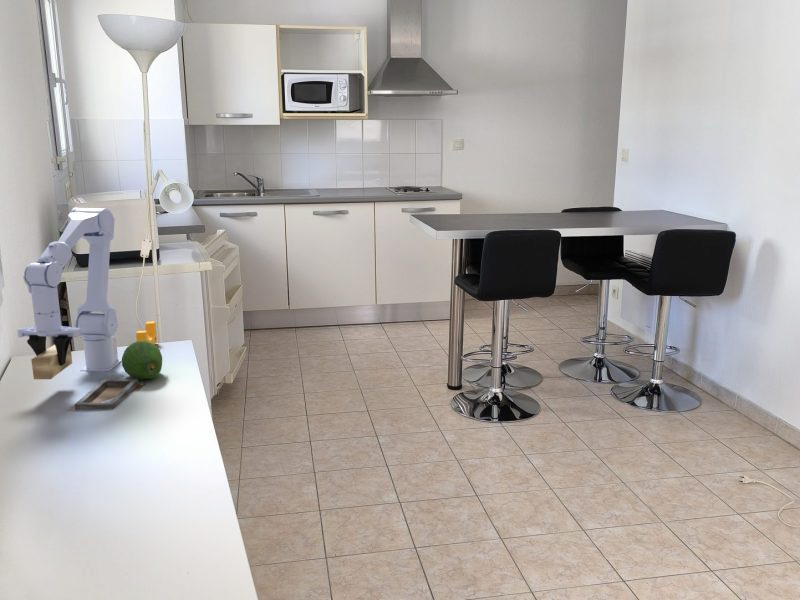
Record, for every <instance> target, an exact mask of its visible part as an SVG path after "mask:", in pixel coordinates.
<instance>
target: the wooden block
mask: <svg viewBox="0 0 800 600" xmlns="http://www.w3.org/2000/svg"><path fill="white" fill-rule="evenodd" d="M72 364H73V358H72V348H71V343H70V344H69V347H68V351H67V355H66V363H65V364H64V365H62V366H59V362H58V354H57V350H56V346H55V344H54V343H53V345H51V346H50V347H48V348H46V350H45V351H44V352H42V353H41V354H39V355H38V356H36V355H35V357H33V358H31V368H32V369H31V370H32V374H33V375H32V377H33V380H52V379H53V378H54V377H56V376H57V375H59V374H60V373H61V372H63V371H64V370H65V369H66V368H68V367H69V366H71V365H72Z"/></svg>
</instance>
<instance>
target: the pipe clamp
mask: <svg viewBox="0 0 800 600" xmlns="http://www.w3.org/2000/svg"><path fill="white" fill-rule="evenodd" d="M144 325H145V329H144V330H137V331H136V332H135V335H136V336H135V337H136V340H135V342H137V341H148V342H150V343H153V344H154V345H155V346H156V344H157V342H158V335H157V322H156V321H146V322H145V323H144Z"/></svg>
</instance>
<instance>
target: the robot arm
mask: <svg viewBox="0 0 800 600" xmlns="http://www.w3.org/2000/svg"><path fill="white" fill-rule="evenodd" d="M115 219H116V218H115V216H114V215H113V213H112V212H111V210H110V208H108V207H104V208H99V207H98V208H95V207H94V208H91V207H90V208H88V207H73V208H72V209H71V210H70V212H69V214H68V215H67V221H68V222H67V223H68V224H66V225H67V226H66V227H65V229H64V231H63V232H62V234H61V236H60V237H59V239H58V241H52V242H50V243H48V246H47V247H46V248H45V250H44V251H43V252H42V253H41V255H40V256H39V257H38V259H37V260H36V261H35V262H31V263H30V264H28V265H27V266H26V267H25V269H24V273H23V275H24V276H23V281H24V283H25V285H26V286H27V289H28V293H29V294H31V300H32V309H33V316H34V317H33V318H34V324H35V325H34V326H30V327H29V326H28V327H26V326H25V327H20V328H18V329H17V337H18V338H24V337H28V339H26V343H27V344H28V346H29V347H30V348H31V349H32V351H33V353H34V354H35V357H36V356H38V355H39V354H41V353H42V352H44V351H45V350H47V337H56V338H55V339H53V345H54V344H55V346H56V350H57V354H58V362H59V366H62V365H64V364H65V363H66V355H67V351H68V347H69V344H70V345H71V343H72V340H73V338H80V339H82V341H83V349H84V359H85V360H84V361H85V366H83V367H82V368H80V372H110V371H111V370H112V369H114V368H115V367H116V366H118V365H119V364H120V363H122V358H121V359H119V355H118V354H119V352H118V343H117V339H116V336H115V333H116V332H117V330H118V325H119V324H118V318H117V309H116V308H115V307H114V306H112V305H111V304H110V303H109V302H108V289H109V288H108V287H109V274H110V273H109V272H110V271H109V270H110V257H111V255H110V254H111V253H110V252H111V241H113V240H114V236H115V222H116V221H115ZM81 239H84V240H86V241H87V243H88V244H89V248H88V249H89V253H88V266H87V268H88V270H87V284H86V285H87V286H86V299H85V300H86V301H85V302H83V303H82V304H81V305H80V306H79V307H77V310H76V316H75V319H74V323H73V325H74V326H66V325H65V326H63V325H62V320H61V319H62V317H61V311H60V310H61V309H60V303H59V302H60V301H59V294H58V293H59V292H58V286H59V284H60V283H61V281H62V274H63V273H64V272H63V271H64V268H65V266H66V264H68V262H69V261H70V259H71V257H72V255H73V252H72V249H73V248H74V246H75V245H76V244H77V243H78V242H79V241H80V240H81ZM92 312H96V313H92ZM97 312H98V313H97Z"/></svg>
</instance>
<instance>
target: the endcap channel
mask: <svg viewBox="0 0 800 600" xmlns="http://www.w3.org/2000/svg"><path fill="white" fill-rule="evenodd" d="M145 385H146V384H145V383H140V384H139V380H138V379H135V378H133V379H128V378H127V379H125V378H124V379H117V378H116V379H112V378H111V379H104V378H103V379H102V380H101V381H100V382H98V383H97V384H96V385H95V386H94V387H92V389H91V390H89V391H88V392H87V393H86V394H84V395H83V396H82V397H81V398H80V399H79V400H77V402H75V404H73V405H71V407H70V408H69V409H68V410H67V412H75V411H87V410H89V411H90V410H91V411H92V410H93V411H94V410H113V409H114V408H116V407H117V406H118V405H119V404H120V403H121V402H122V401H123V400H125V399H126V398H127V397H128V395H130V394H132V393H137V392H139V391H140V390H141V389H143V388H144V386H145ZM109 400H110V401H109ZM108 401H109V402H108Z"/></svg>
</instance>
